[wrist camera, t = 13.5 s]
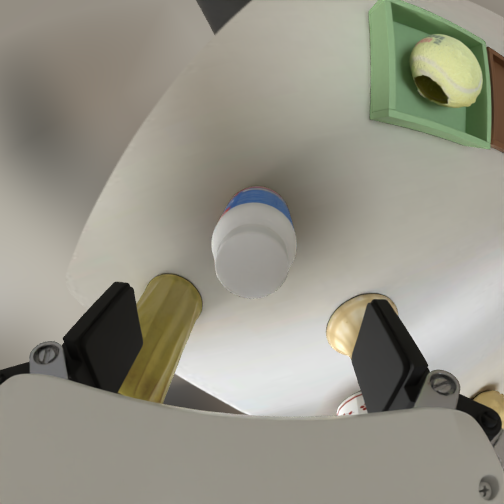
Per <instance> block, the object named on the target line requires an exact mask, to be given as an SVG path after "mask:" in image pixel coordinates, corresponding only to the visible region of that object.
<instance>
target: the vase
mask: <svg viewBox="0 0 504 504" xmlns="http://www.w3.org/2000/svg"><path fill="white" fill-rule="evenodd" d="M136 306H137V312H138V317H139V322H140V327H141V332H142V337H143V346H142V348H141V350H140V352H139V354H138V356H137V357H136V359H135V361H134V363H133V365H132V367H131V368H130V370H129V372H128V374H127V376H126V378H125V380H124V382H123V384H122V385H121V387H120V389H119V391H118V393H117V394H120V395H124V396H128V397H132V398H136V399H141V400H145V401H150V402H154V403H159V404H163V401H164V398H165V396H166V393H167V391H168V388H169V386H170V383H171V380H172V378H173V376H174V373H175V371H176V368H177V365H178V363H179V360H180V358H181V355H182V352H183V350H184V347H185V345H186V343H187V340H188V338H189V336H190V333H191V331H192V328H193V326H194V324H195V321H196V320H197V318H198V317H199V316H200V313H201V311H202V300H201V297H200V294H199V293H198V291H197V289H196V288H195V287H194V286H193V285H192V284H191V283H190V282H189V281H187V280H186V279H184V278H182V277H179V276H176V275H171V274H164V275H160V276H157V277H155V278H153V279H152V280H151V281H150V282H149V284H148V286H147V288H146V290H145V292H144V293H143V295H142V296H141V298H140V300H139V301H138V303H137V305H136Z"/></svg>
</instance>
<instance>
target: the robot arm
mask: <svg viewBox="0 0 504 504" xmlns="http://www.w3.org/2000/svg"><path fill="white" fill-rule="evenodd" d="M63 340H64V343H63V345H62V346H61V345H60V344H59V343H57V342H53V341H48V342H43V343H40V344H39V345H37V346H36V347H35V348H34V349H33V350H32V351H31V353H30V357H29V359H30V361H29V362H27V363H24V364H20V365H17V366H13V367H9V368H6V369H3V370H0V504H504V429H502V421H501V418H500V416H499V414H498V413H497V412H496V411H495V410H493V409H492V408H490V407H487V406H485V405H483V404H481V403H478V402H476V401H474V400H472V399H470V398H467V397H465V396H463V395H461V394H459V393H460V384H459V381H458V380H457V379H456V377H455V376H453V375H452V374H451V373H449V372H447V371H444V370H434V371H431V372H430V371H429V369H428V368H427V367H428V364H427V362H426V360H425V358H424V357H423V355H422V353H421V352H420V350H419V348H418V347H417V345H416V344H415V342H414V340H413V339H412V337H411V336H410V334H409V332H408V331H407V329H406V328H405V326H404V325H403V323H402V321H401V320H400V318H399V317H398V315H397V314H396V312H395V311H394V309H393V308H392V306H391V305H390V303H389V302H388V300H386V299H373V300H372V301H371V303H368V304H367V306H366V310H365V313H364V317H363V320H362V324H361V327H360V330H359V334H358V337H357V340H356V343H355V346H354V349H353V352H352V364H353V367H354V370H355V373H356V377H357V380H358V383H359V386H360V389H361V393H362V396H363V399H364V403H365V406H366V409H367V413H366V414H354V415H340V416H320V417H275V416H253V415H238V414H228V413H218V412H209V411H202V410H195V409H188V408H182V407H176V406H170V405H165V404H159V403H154V402H150V401H145V400H141V399H136V398H132V397H128V396H124V395H120V394H117V393H118V391H119V389H120V387H121V385H122V384H123V382H124V380H125V378H126V376H127V374H128V372H129V370H130V368H131V367H132V365H133V363H134V361H135V359H136V357H137V356H138V354H139V352H140V350H141V348H142V346H143V337H142V332H141V327H140V322H139V317H138V312H137V306H136V301H135V295H134V289H133V288H132V287H130V285H129V284H128V283H123V282H114V283H113V284H112V285H111V286H110V287H109V288H108V289H107V290H106V291H105V292H104V294H103V295H102V296H101V297H100V298H99V299H98V300H97V301H96V302H95V303H94V304H93V305H92V306H91V307H90V308H89V309H88V311H87V312H86V313H85V314H84V315H83V316H82V317H81V318H80V319H79V320H78V321H77V323H76V324H75V325H74V326H73V327H72V328H71V329H70V330H69V332H68V333H67V334H66V335H65V336H64V337H63Z"/></svg>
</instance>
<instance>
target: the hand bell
mask: <svg viewBox="0 0 504 504" xmlns="http://www.w3.org/2000/svg"><path fill="white" fill-rule="evenodd" d="M373 299H386V300H388V302H389V303H390V305H391V306H392V308H393V309H394V311H395V312H396V314H397V315H398V311H397V308H396V306H395V304H394V303H393V302H392V301H391V300H390V299H389V298H387V297H386V296H383V295H380V294H365V295H360V296H357V297H355V298H353V299H351V300H349V301H347V302H346V303H344V304H343V305H342V306H340V307H339V308H338V309H337V310H336V311H335V312H334V314H333V315H332V317H331V318H330V320H329V322H328V325H327V331H326V336H327V340H328V342H329V344H330V345H331V347H332V348H333V349H335V350H336V351H337V352H339V353H341V354H344V355H348V356H349V357H350V358H351V360H352V352H353V349H354V346H355V343H356V340H357V337H358V334H359V330H360V327H361V324H362V320H363V317H364V313H365V310H366V306H367V304H368V303H371V301H372V300H373Z"/></svg>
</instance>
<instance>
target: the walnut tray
mask: <svg viewBox="0 0 504 504" xmlns="http://www.w3.org/2000/svg"><path fill="white" fill-rule="evenodd" d="M486 50H487V57H488V65H489V74H490V87H491V143H490V144H491V146H490V147H493V148H495V149H497V150H499V151H501V152H503V153H504V57H503V56H502V55H500V54H499V53H497V52H496V51H494V50H493V49H491V48H490V47H486Z"/></svg>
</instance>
